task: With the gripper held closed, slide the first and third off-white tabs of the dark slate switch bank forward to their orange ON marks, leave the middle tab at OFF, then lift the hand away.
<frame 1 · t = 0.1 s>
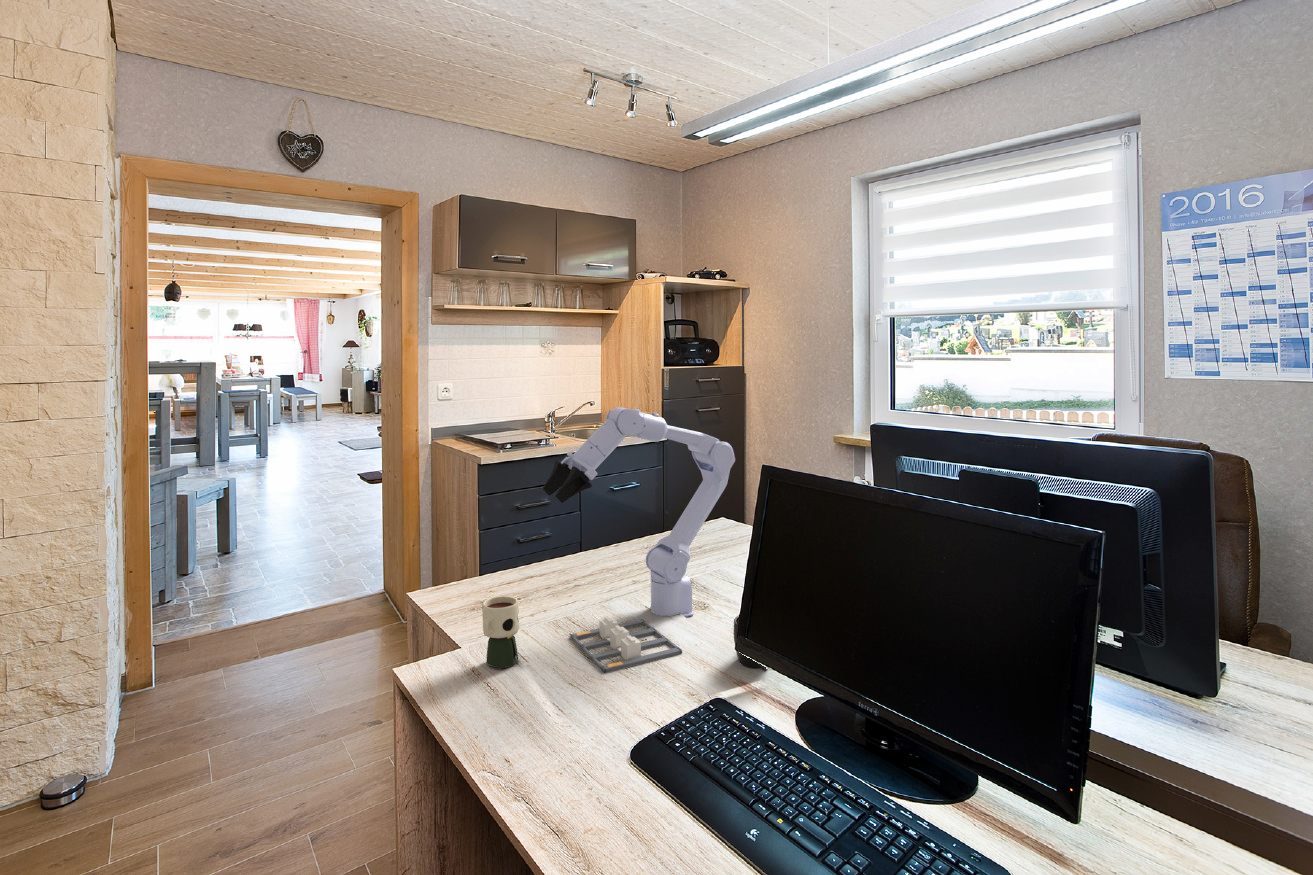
hand: (551, 495, 143), 32 cm above the table, tool tilted 50°, fingers open, 7 cm apart
character mug: (502, 664, 136), on the table
switch bank: (624, 650, 142), on the table
tab a: (608, 627, 145), point 3 cm above the table, slide at 0.0 cm
tab c: (630, 647, 136), point 3 cm above the table, slide at 0.0 cm
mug: (755, 663, 136), on the table
tab b: (619, 637, 141), point 3 cm above the table, slide at 0.0 cm
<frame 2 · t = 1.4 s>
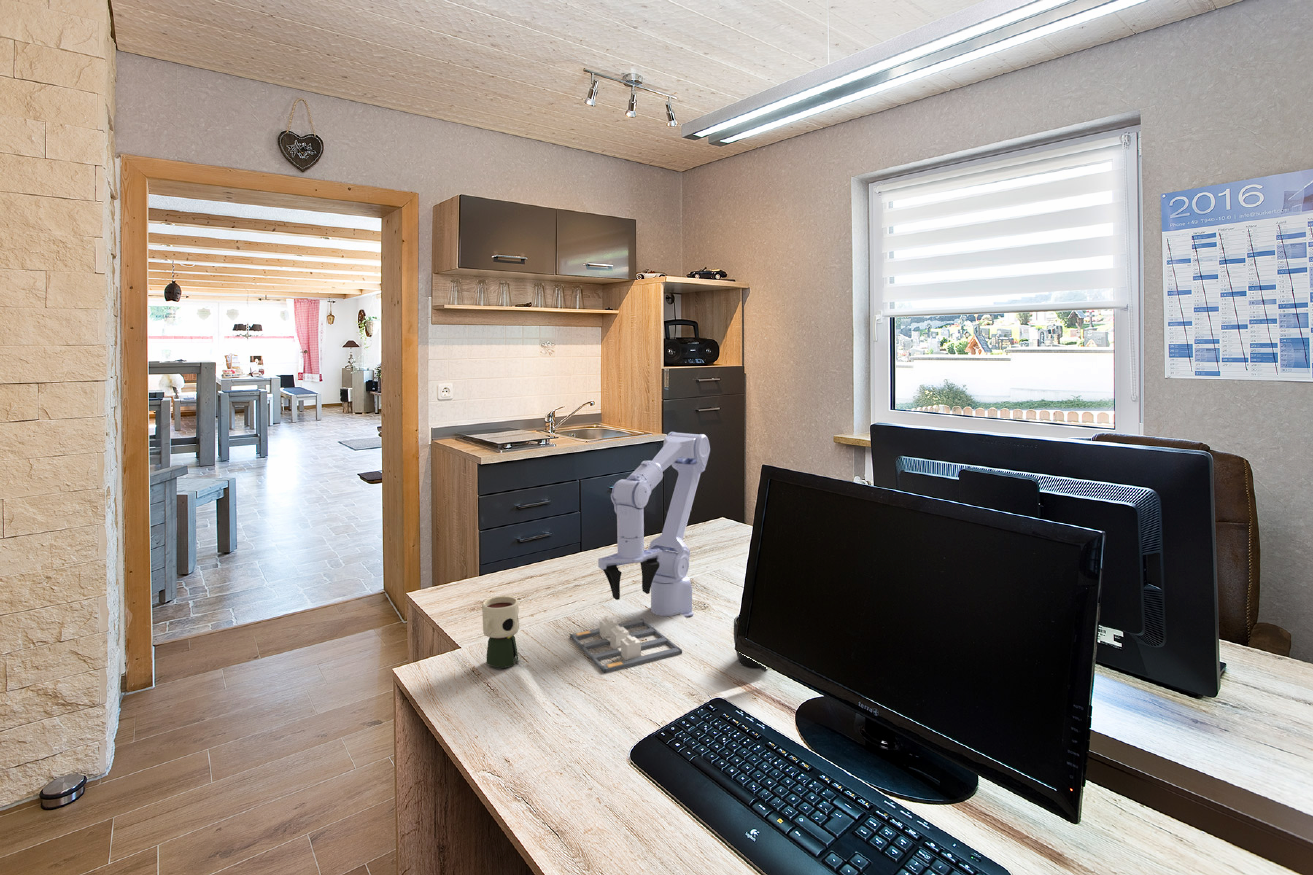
hand: (631, 595, 147), 9 cm above the table, tool pointing down, fingers open, 7 cm apart
nothing on the table moved.
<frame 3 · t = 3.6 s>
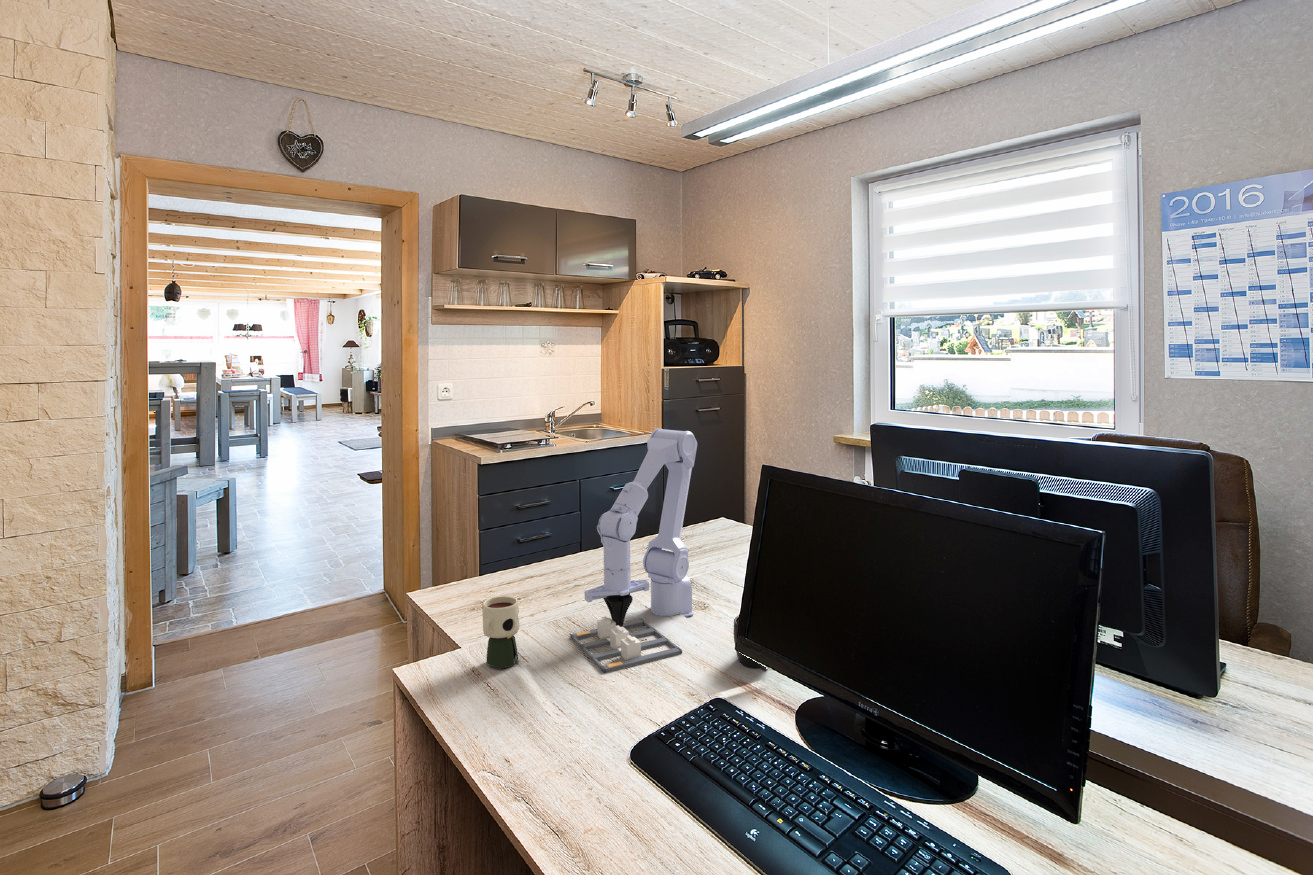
hand: (617, 626, 146), 3 cm above the table, tool pointing down, fingers closed
tab a: (606, 627, 145), point 3 cm above the table, slide at 0.5 cm, touching gripper
everything else where it was.
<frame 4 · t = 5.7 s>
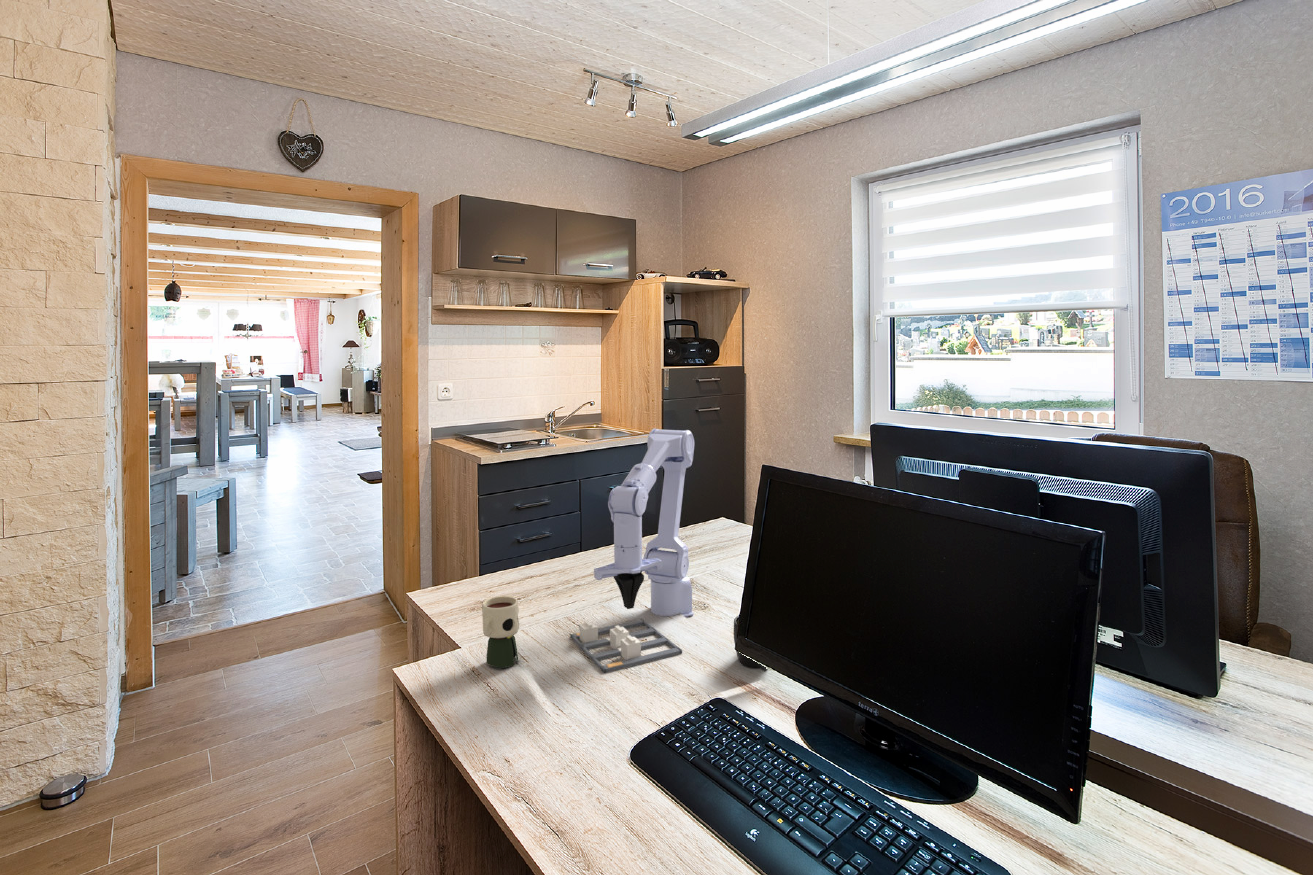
hand: (628, 606, 140), 9 cm above the table, tool pointing down, fingers closed
tab a: (588, 631, 143), point 3 cm above the table, slide at 4.7 cm
everything else where it was.
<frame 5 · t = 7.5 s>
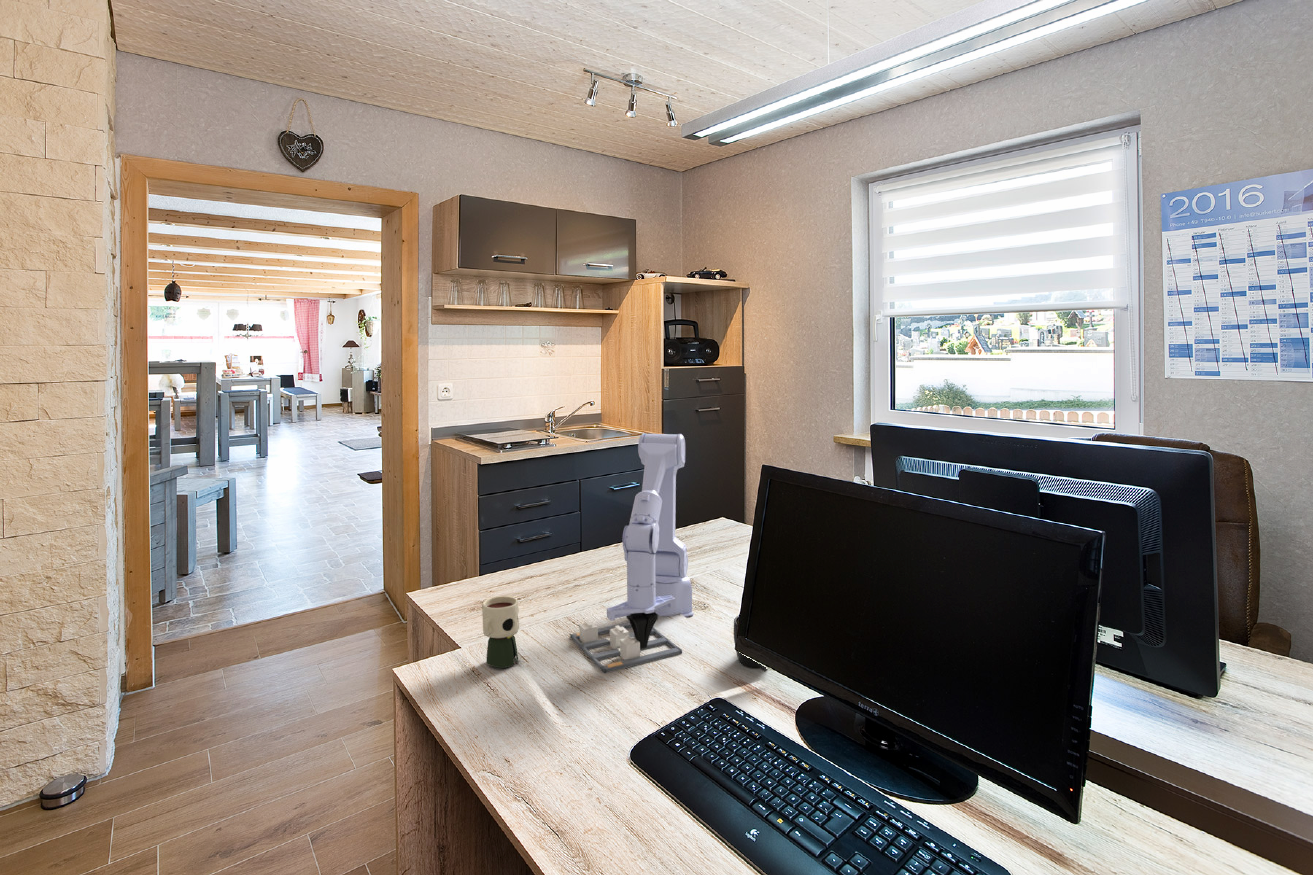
hand: (641, 646, 137), 3 cm above the table, tool pointing down, fingers closed
tab c: (630, 647, 136), point 3 cm above the table, slide at 0.2 cm, touching gripper
everything else where it was.
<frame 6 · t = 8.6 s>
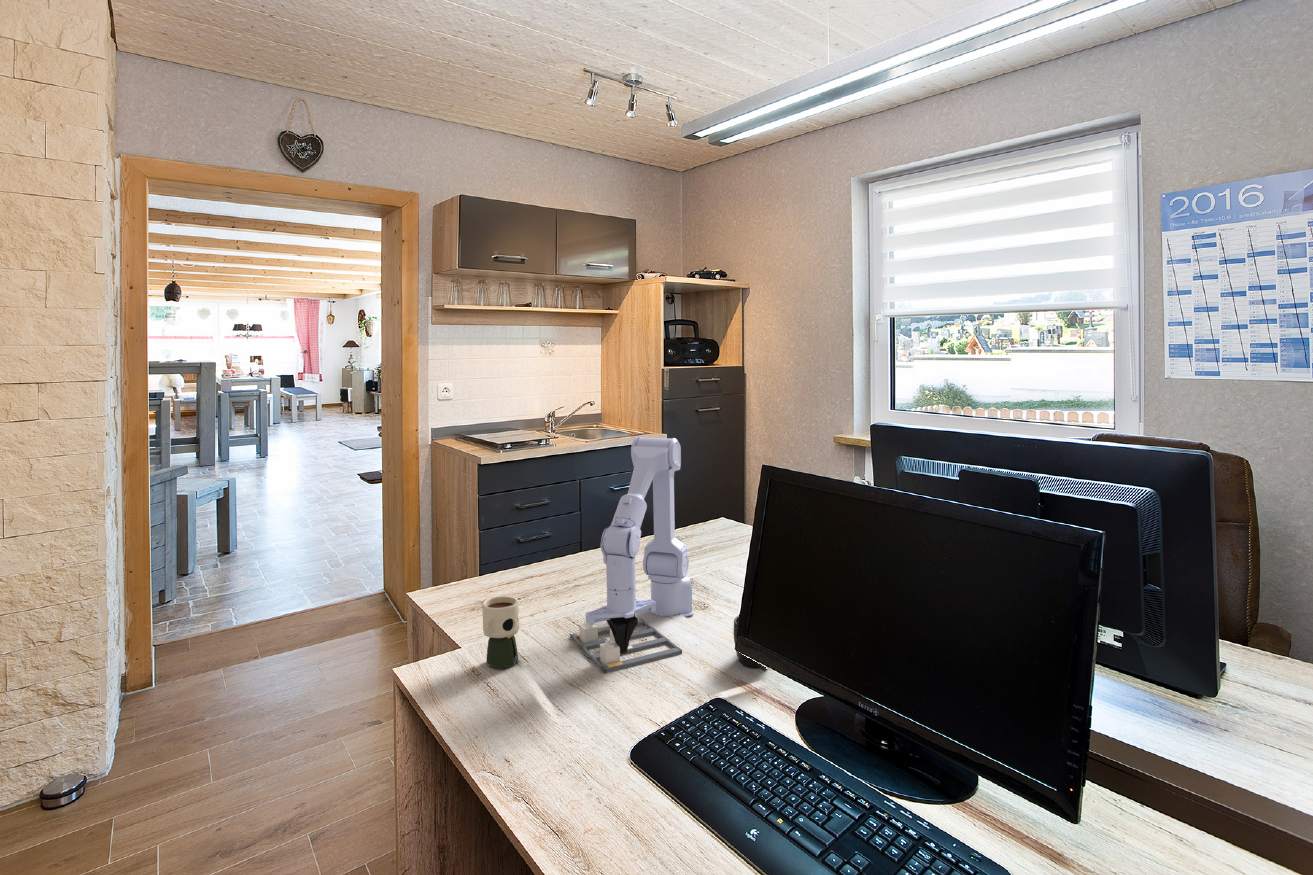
hand: (621, 651, 135), 3 cm above the table, tool pointing down, fingers closed
tab c: (609, 652, 134), point 3 cm above the table, slide at 4.7 cm, touching gripper
everything else where it was.
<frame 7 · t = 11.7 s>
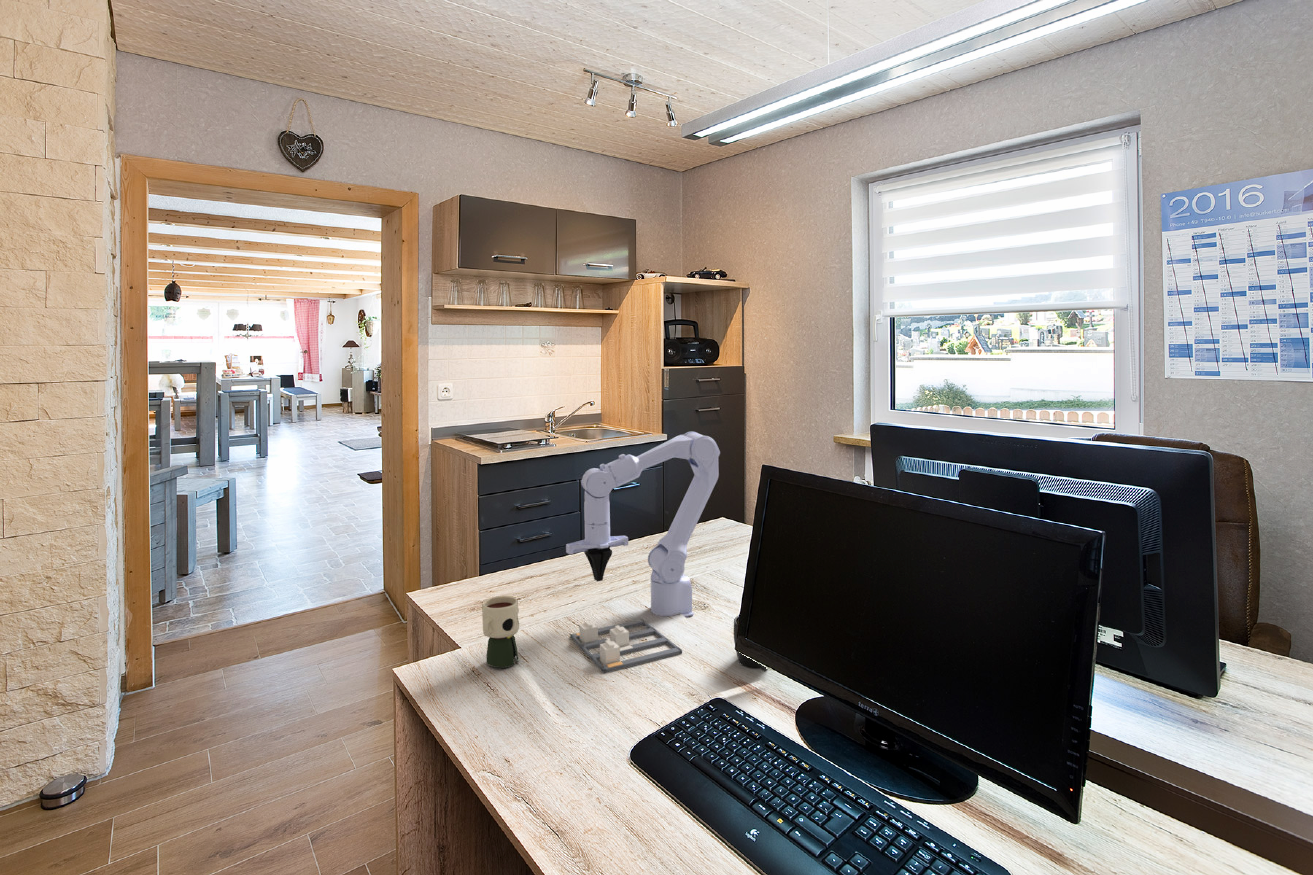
hand: (598, 579, 154), 10 cm above the table, tool pointing down, fingers closed
tab c: (609, 652, 134), point 3 cm above the table, slide at 4.7 cm
everything else where it was.
at the end: tab a slide at 4.7 cm; tab c slide at 4.7 cm; tab b slide at 0.0 cm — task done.
